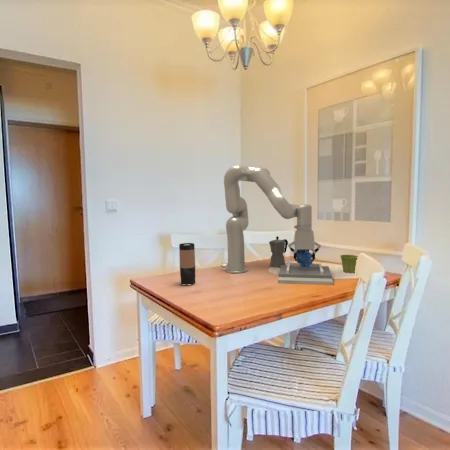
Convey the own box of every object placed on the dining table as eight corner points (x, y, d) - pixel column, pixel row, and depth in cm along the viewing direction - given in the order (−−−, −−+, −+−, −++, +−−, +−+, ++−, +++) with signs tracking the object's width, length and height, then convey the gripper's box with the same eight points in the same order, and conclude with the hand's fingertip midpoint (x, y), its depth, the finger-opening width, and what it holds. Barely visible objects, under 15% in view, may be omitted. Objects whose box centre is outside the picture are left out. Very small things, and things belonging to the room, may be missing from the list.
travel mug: (198, 282, 172) (197, 243, 170) (190, 286, 165) (189, 245, 163) (185, 281, 175) (184, 242, 173) (177, 284, 168) (176, 244, 166)
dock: (277, 282, 167) (277, 273, 167) (281, 270, 194) (280, 262, 194) (333, 284, 161) (333, 275, 161) (328, 271, 189) (328, 263, 188)
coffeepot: (275, 268, 199) (274, 238, 198) (264, 266, 207) (263, 236, 205) (293, 264, 208) (293, 235, 206) (282, 262, 216) (282, 234, 214)
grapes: (289, 266, 184) (289, 244, 183) (297, 265, 189) (297, 243, 188) (306, 270, 175) (307, 247, 174) (314, 268, 180) (315, 246, 179)
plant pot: (359, 270, 189) (359, 255, 188) (356, 274, 181) (356, 258, 180) (342, 269, 194) (342, 254, 193) (338, 272, 186) (338, 256, 185)
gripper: (287, 228, 177) (287, 261, 178) (321, 228, 173) (321, 262, 175) (287, 227, 184) (287, 258, 186) (321, 227, 180) (320, 259, 182)
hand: (304, 260), depth 180 cm, fingers closed on grapes, 8 cm apart
